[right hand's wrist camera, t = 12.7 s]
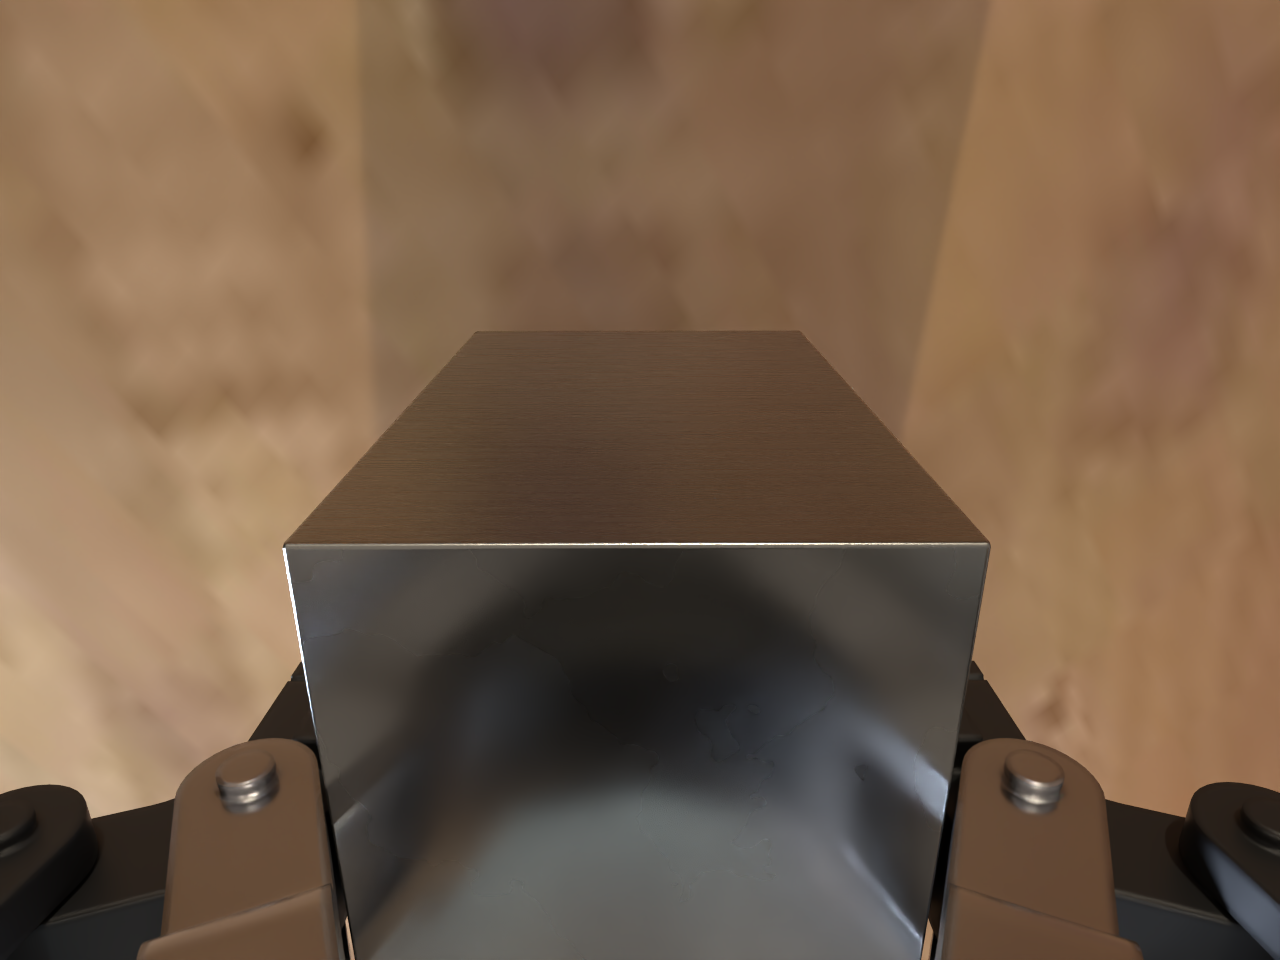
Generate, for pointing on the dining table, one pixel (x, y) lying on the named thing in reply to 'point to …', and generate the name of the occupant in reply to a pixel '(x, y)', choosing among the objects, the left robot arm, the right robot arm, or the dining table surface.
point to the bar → (637, 658)
